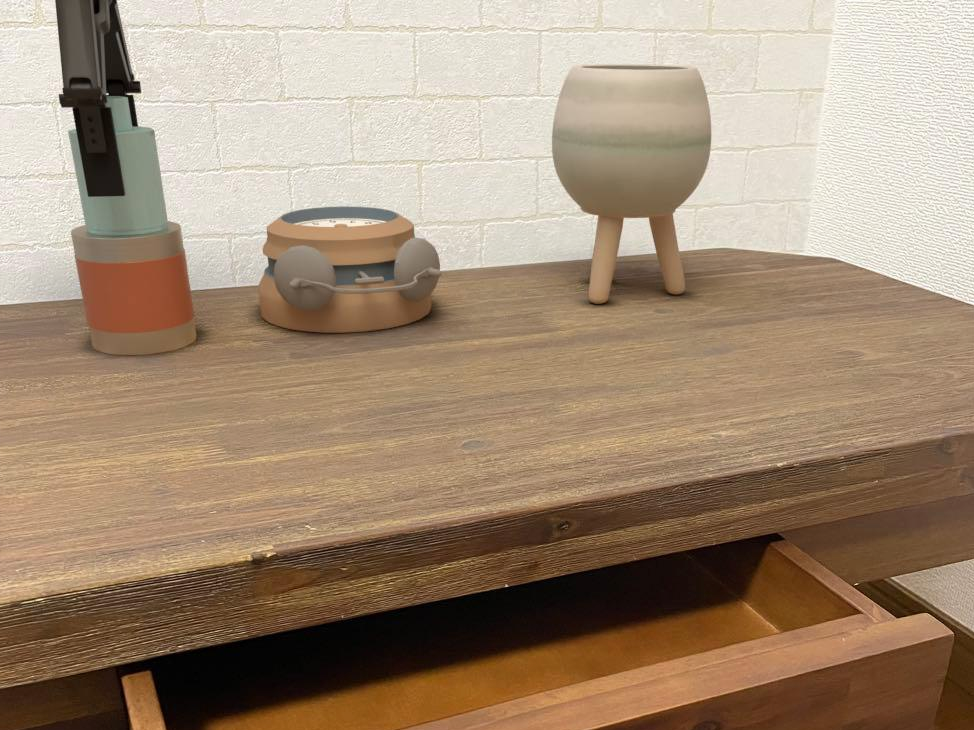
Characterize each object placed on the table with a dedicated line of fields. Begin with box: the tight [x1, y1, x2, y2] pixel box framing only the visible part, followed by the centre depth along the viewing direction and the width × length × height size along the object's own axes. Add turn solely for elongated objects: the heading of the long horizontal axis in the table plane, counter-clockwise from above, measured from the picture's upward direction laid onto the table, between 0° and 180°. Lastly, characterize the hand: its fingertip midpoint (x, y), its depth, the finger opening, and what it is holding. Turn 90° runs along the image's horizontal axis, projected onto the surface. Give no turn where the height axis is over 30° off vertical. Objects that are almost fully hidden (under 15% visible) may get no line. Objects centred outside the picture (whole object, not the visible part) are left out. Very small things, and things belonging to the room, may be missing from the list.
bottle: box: [67, 96, 169, 236], centre depth 88 cm, size 7×7×10 cm
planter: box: [551, 63, 712, 305], centre depth 108 cm, size 16×16×22 cm
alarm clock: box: [257, 205, 442, 334], centre depth 101 cm, size 17×9×23 cm
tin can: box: [70, 220, 198, 356], centre depth 93 cm, size 9×9×10 cm
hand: (118, 184), depth 89 cm, fingers open, 13 cm apart
